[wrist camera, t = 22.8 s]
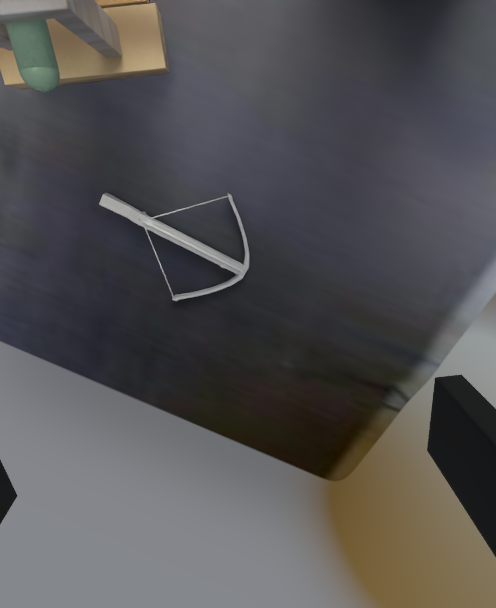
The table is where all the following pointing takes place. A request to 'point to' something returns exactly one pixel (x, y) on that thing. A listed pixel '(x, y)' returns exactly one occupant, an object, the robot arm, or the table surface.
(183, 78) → the table surface
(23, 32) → the hanger stand
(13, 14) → the grey arch on wood
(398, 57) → the table surface
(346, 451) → the table surface
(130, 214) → the crossbow
